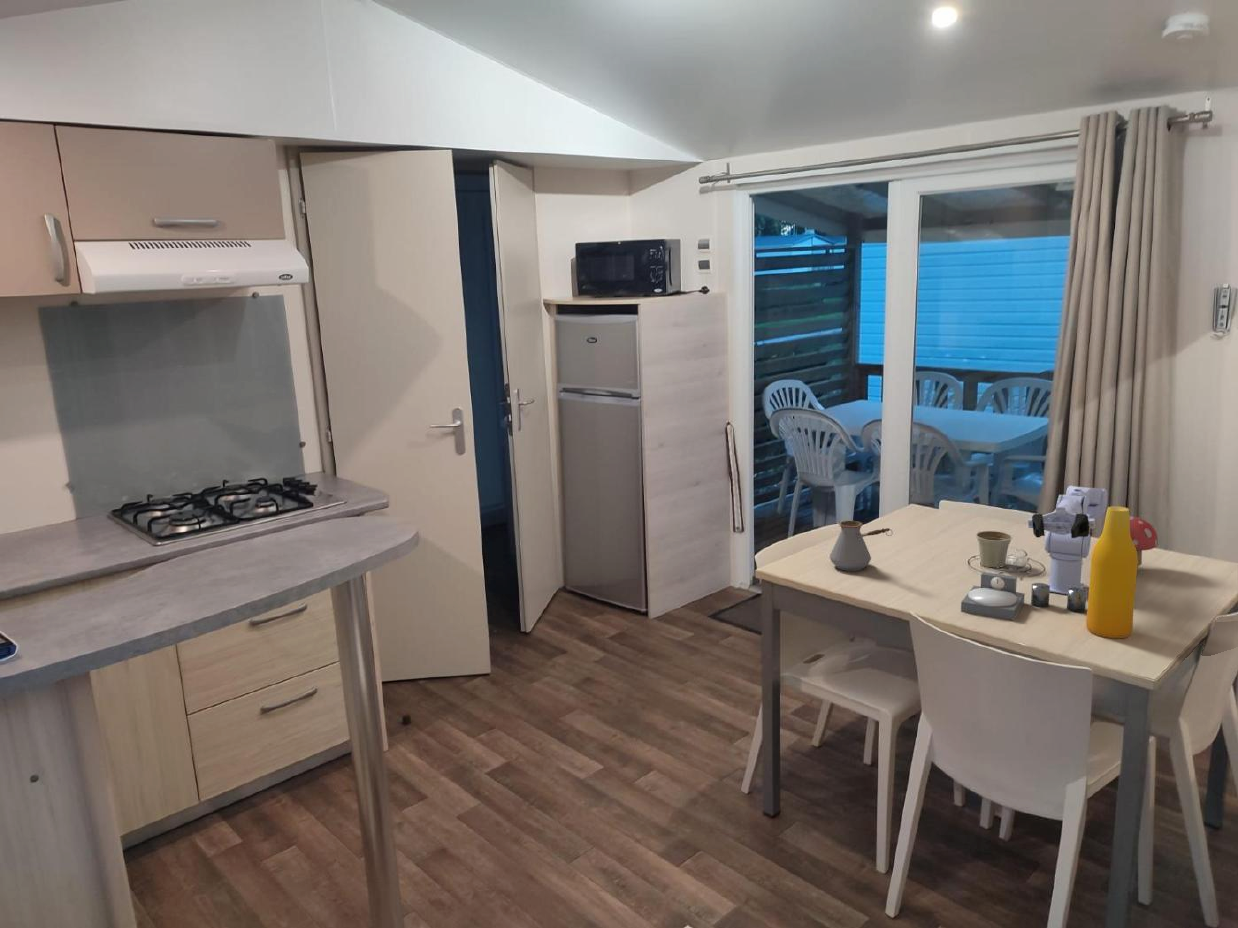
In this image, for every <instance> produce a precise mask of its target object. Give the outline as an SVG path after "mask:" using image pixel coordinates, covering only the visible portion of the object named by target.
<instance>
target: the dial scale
mask: <svg viewBox="0 0 1238 928" xmlns="http://www.w3.org/2000/svg"><path fill="white" fill-rule="evenodd" d="M1017 579H1018V578H1017V576H1015V575H1014V576H1013V575H1005V574H1001V573H994V572H985V571H982V573H981V574H980V586H979V585H973V586H972V587H971V589H970V590H969V591H968V592H967V594H966V595H965V596H964V597H963V599H962V600H961V606H960V612H961V613H962V612H964V613H970V614H975V615H979V616H986V617H993V618H999V619H1005V620H1010V621H1014V620H1015V618H1016V617H1017V615H1018V613H1019V612H1020V610H1021V608H1022V607H1023V605H1024V604H1025V593H1024V592H1017V582H1018V581H1017Z"/></svg>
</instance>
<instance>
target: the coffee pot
mask: <svg viewBox="0 0 1238 928" xmlns="http://www.w3.org/2000/svg"><path fill="white" fill-rule="evenodd" d="M838 525H839V527H840V529H841V530H840V533H839V535H838V537H837V539H836V541H835V544H834V545H833V548H832V549H831V551H830V553H829V560H830V561H831V563H832V564H833V565H834V566H835V567H836V568H837V569H839V570H842V571H845V572H846V571H847V572H848V571H849V572H854V571H855V572H856V571H861V570H864V568H865V567H867V566H868V565H869V563H870V562H871V560H872V556H871V553H870V551H869V549H868V546H867V544H866V542H865V539H864V537H870V536H874V535H875V536H877V535H879V534H882V533H883V534H886V536H888V537H890V536H893V534H894V533H893V530H892V529H890V527H889V528H887V527H886V528H881V529H876V530H872V531H868V532H864V533H861V528H862V526H863V522H861V521H858V520H857V521H856V520H843V521H840V522H839V523H838ZM889 531H891V534H890V535H889V534H887V532H889Z"/></svg>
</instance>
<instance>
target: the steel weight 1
mask: <svg viewBox="0 0 1238 928" xmlns="http://www.w3.org/2000/svg"><path fill="white" fill-rule="evenodd" d="M1050 593H1051V592H1050V586H1049V585H1048V583H1043V582H1035V583H1032V584H1031V596H1030V605H1031V606H1033V607H1035V608H1042V609H1044V608H1048V607H1049V605H1050Z"/></svg>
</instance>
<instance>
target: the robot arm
mask: <svg viewBox="0 0 1238 928" xmlns="http://www.w3.org/2000/svg"><path fill="white" fill-rule="evenodd" d="M1055 505H1056V506H1055V509H1054V511H1053V512H1048V513H1046V514H1044V515H1043V513H1034V514H1033V515H1032V516H1031V517H1030V518H1028V520H1027V523H1028V528H1029V529H1032V532H1033V535H1034V536H1035V538H1041V537H1044V538H1045V539H1044V550H1045V552H1046V553H1047V554H1048V555H1049V556H1048V557H1050V563H1049V564H1050V566H1049V580H1048V581H1049V582H1048V583H1047V585H1049V586H1050V593H1055V594H1062V595H1063V594H1064V595H1068V589H1069V588H1082V589H1084V587H1085V583H1084V582H1081V579H1082V567H1083V559H1086V558H1087V557H1088V556H1089V554H1090V549H1091V539H1092V536H1091V534H1090V530H1094V529H1095V528H1096V527H1097V526H1096V519H1100V518H1101V517H1102V516H1103V515H1104V514H1105V512H1106V508H1107V505H1108V490H1107V489H1106V488H1095V487H1086V486H1085V487H1084V486H1074V485H1068V487H1067V489H1066V493H1065V494H1059V495H1058V498H1057V501H1056V504H1055ZM1045 531H1046V532H1045Z"/></svg>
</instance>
